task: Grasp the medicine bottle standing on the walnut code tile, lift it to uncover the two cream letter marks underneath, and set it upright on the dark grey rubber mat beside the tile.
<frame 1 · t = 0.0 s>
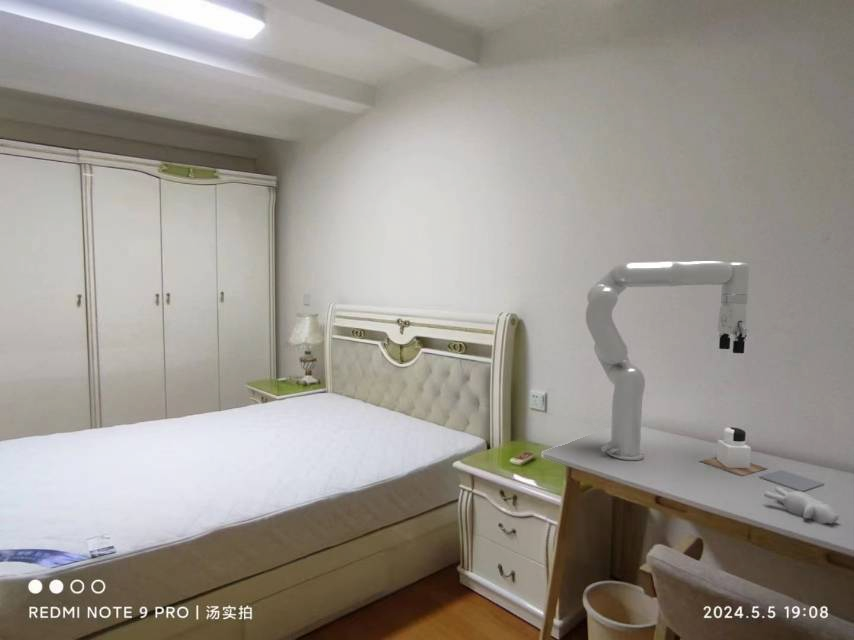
hand: (731, 350, 168), 37 cm above the table, tool pointing down, fingers open, 9 cm apart
code tile: (732, 465, 166), on the table
medicine bottle: (732, 465, 166), resting on code tile
grey mat: (791, 481, 153), on the table
bunny figurine: (800, 514, 132), on the table
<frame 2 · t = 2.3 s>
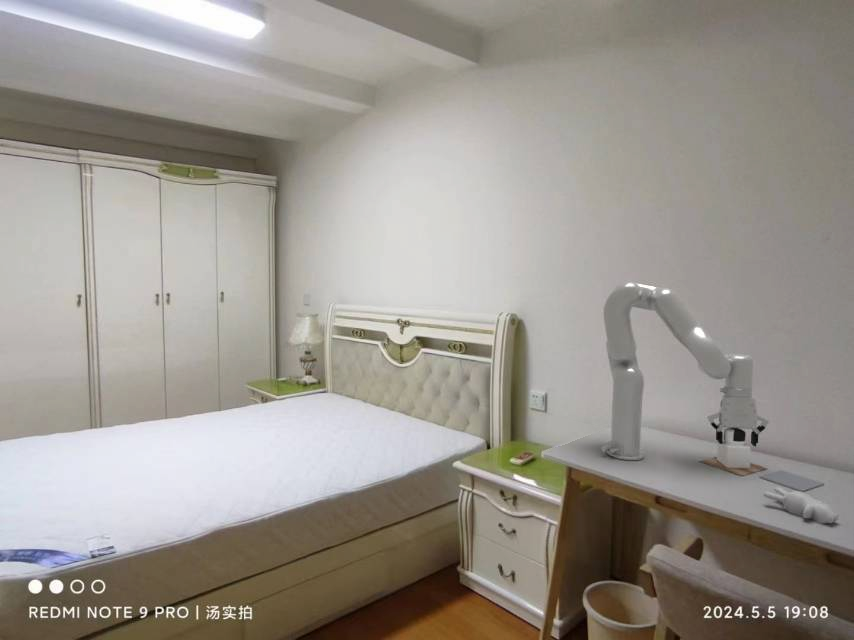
hand: (736, 443, 165), 7 cm above the table, tool pointing down, fingers open, 9 cm apart
medicine bottle: (732, 465, 166), resting on code tile, touching gripper
everything else where it was.
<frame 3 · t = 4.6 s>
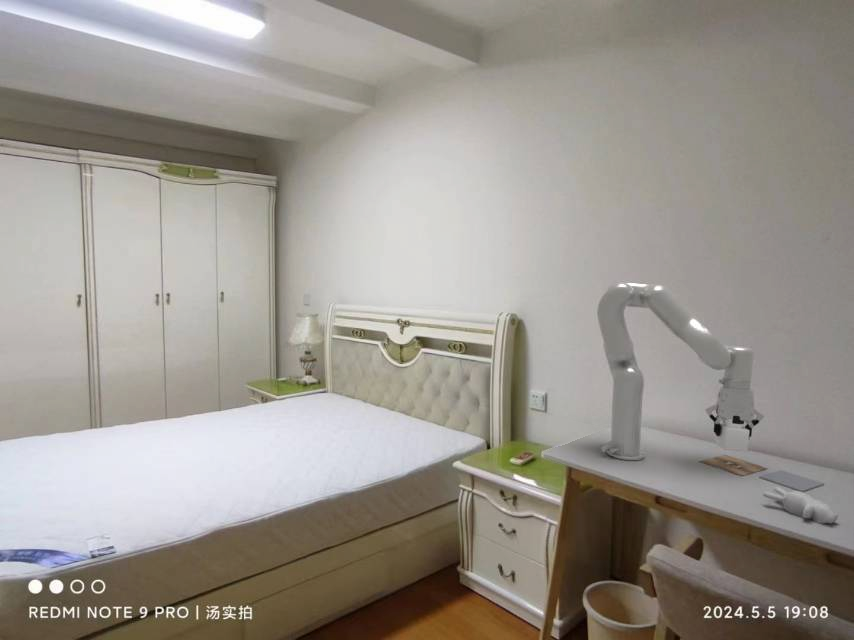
hand: (731, 436, 166), 10 cm above the table, tool pointing down, fingers closed on medicine bottle, 8 cm apart
medicine bottle: (730, 447, 166), point 6 cm above the table, touching gripper
everything else where it was.
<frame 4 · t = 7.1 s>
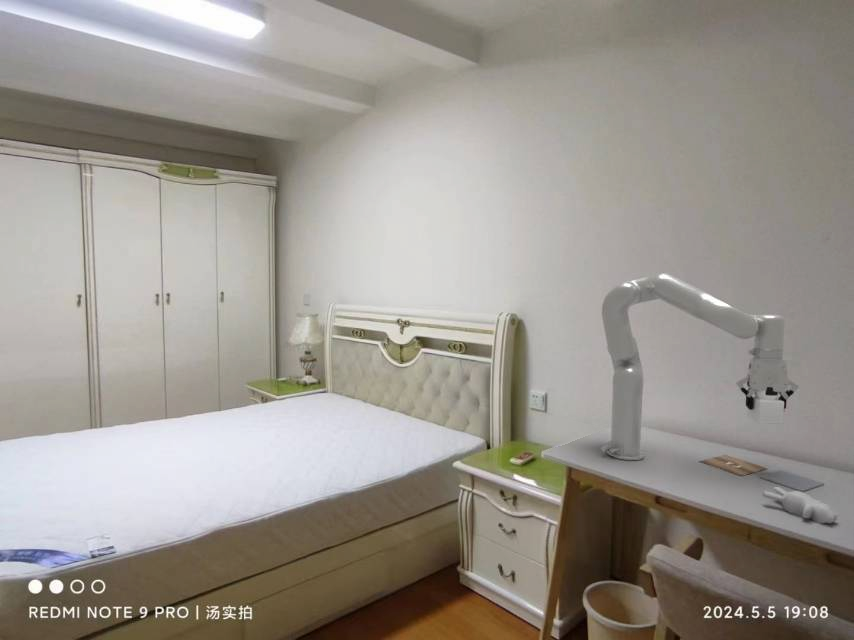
hand: (765, 409, 158), 20 cm above the table, tool pointing down, fingers closed on medicine bottle, 8 cm apart
medicine bottle: (764, 421, 159), point 17 cm above the table, touching gripper
everything else where it was.
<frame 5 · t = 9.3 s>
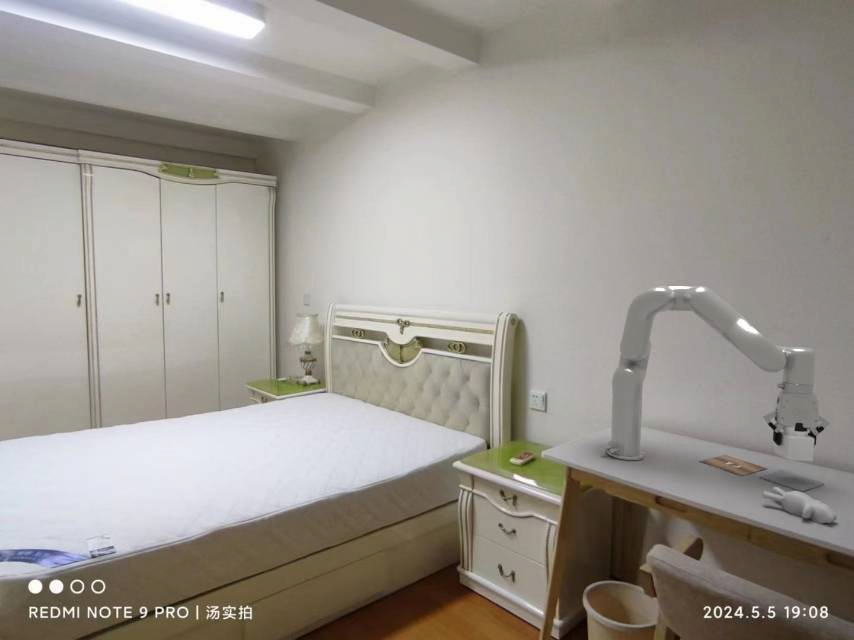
hand: (793, 445, 152), 11 cm above the table, tool pointing down, fingers closed on medicine bottle, 8 cm apart
medicine bottle: (792, 457, 153), point 7 cm above the table, touching gripper
everything else where it was.
when the fingers open (5 cm above the table, at t = 11.1 s): medicine bottle stays where it is, resting on grey mat.
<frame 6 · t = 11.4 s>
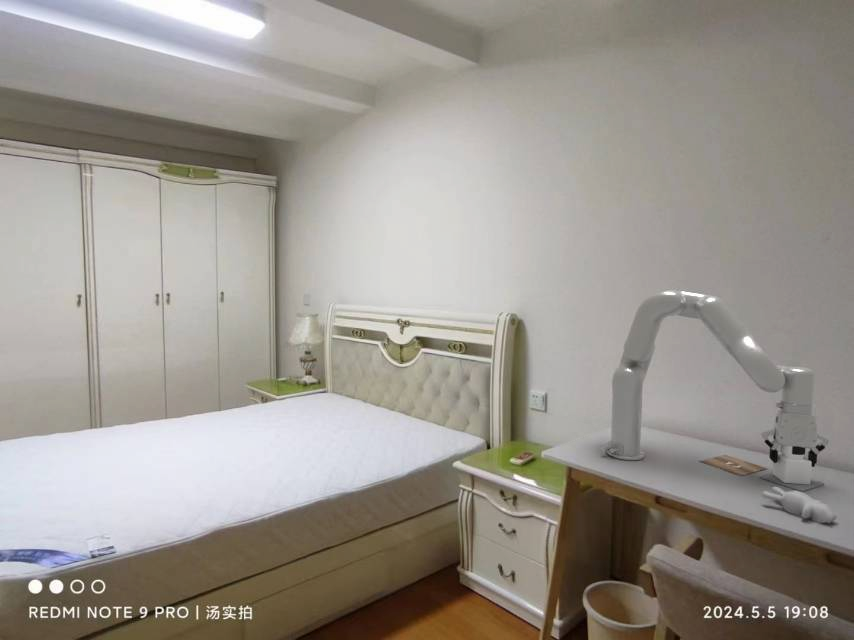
hand: (792, 463, 153), 6 cm above the table, tool pointing down, fingers open, 9 cm apart
medicine bottle: (790, 480, 153), resting on grey mat
everything else where it was.
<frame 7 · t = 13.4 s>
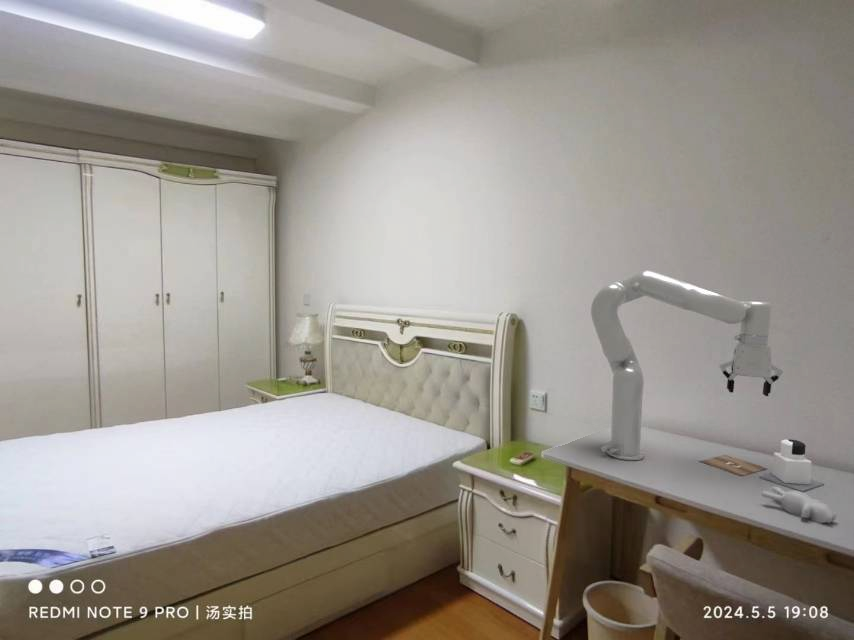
hand: (747, 393, 161), 25 cm above the table, tool pointing down, fingers open, 9 cm apart
nothing on the table moved.
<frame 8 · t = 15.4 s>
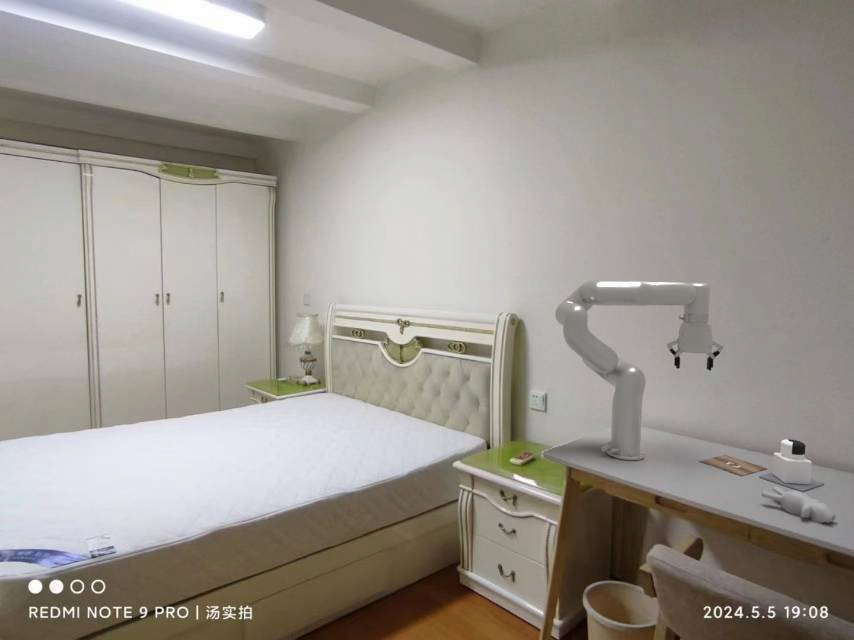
hand: (693, 368, 173), 30 cm above the table, tool pointing down, fingers open, 9 cm apart
nothing on the table moved.
at the end: medicine bottle inside the target area on the grey mat (0.2 cm from its centre), point 0.2 cm above the grey mat's base; medicine bottle tilted 0°; medicine bottle touching grey mat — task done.
